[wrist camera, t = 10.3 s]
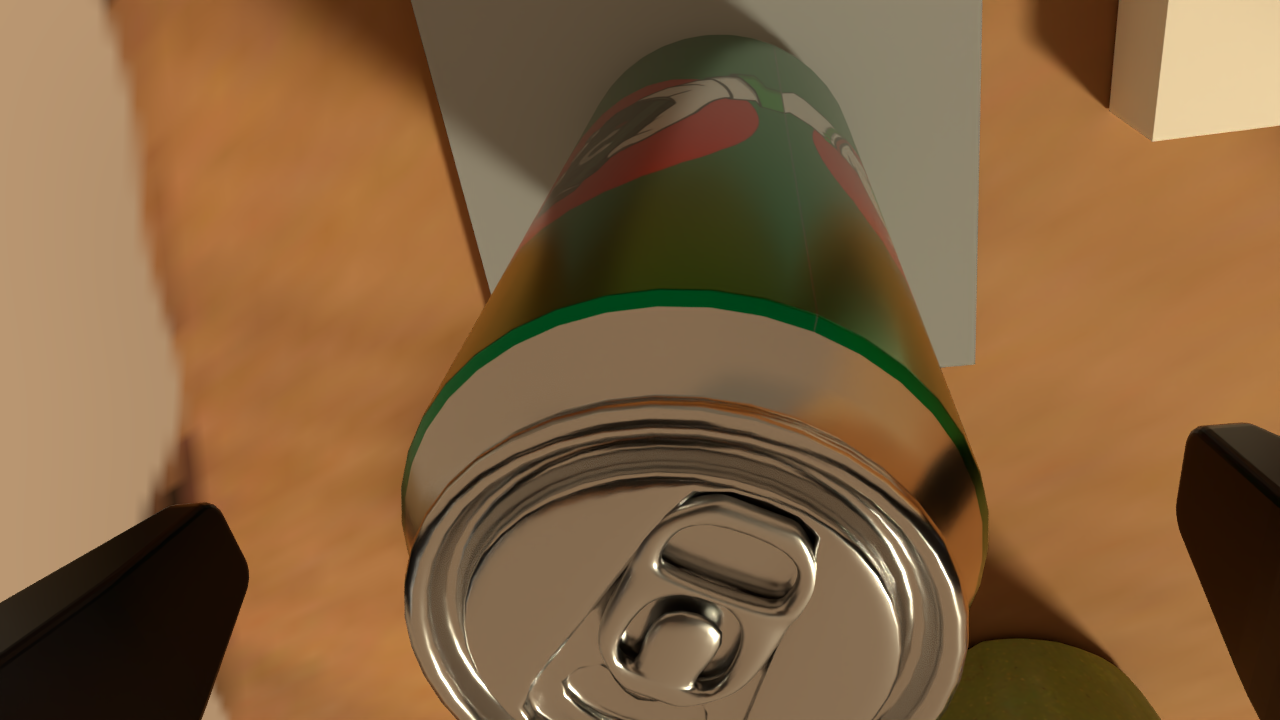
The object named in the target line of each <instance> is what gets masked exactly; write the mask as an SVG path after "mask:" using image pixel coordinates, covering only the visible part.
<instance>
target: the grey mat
mask: <svg viewBox="0 0 1280 720" xmlns="http://www.w3.org/2000/svg"><path fill="white" fill-rule="evenodd" d="M411 3H412V7H413V10H414V14H415V18H416V21H417V25H418V29H419V32H420V36H421V40H422V43H423V47H424V51H425V54H426V58H427V62H428V65H429V69H430V73H431V76H432V80H433V83H434V87H435V91H436V94H437V98H438V102H439V105H440V109H441V113H442V116H443V120H444V124H445V127H446V131H447V135H448V138H449V142H450V146H451V149H452V153H453V157H454V160H455V164H456V168H457V171H458V175H459V179H460V182H461V186H462V190H463V193H464V197H465V201H466V204H467V208H468V212H469V215H470V219H471V223H472V226H473V230H474V234H475V237H476V241H477V245H478V248H479V252H480V256H481V259H482V263H483V267H484V270H485V274H486V278H487V281H488V285H489V289H490V292H491V295H492V293H493V291H494V289H495V288H496V286H497V284H498V282H499V280H500V279H501V277H502V275H503V273H504V272H505V270H506V268H507V266H508V264H509V263H510V261H511V259H512V257H513V256H514V254H515V252H516V250H517V249H518V247H519V245H520V243H521V241H522V240H523V238H524V236H525V234H526V233H527V231H528V229H529V227H530V226H531V224H532V222H533V220H534V218H535V217H536V215H537V213H538V211H539V210H540V208H541V206H542V204H543V202H544V201H545V199H546V197H547V195H548V194H549V192H550V190H551V188H552V187H553V185H554V183H555V181H556V179H557V178H558V176H559V174H560V172H561V171H562V169H563V167H564V165H565V163H566V162H567V160H568V158H569V156H570V155H571V153H572V151H573V149H574V148H575V146H576V144H577V142H578V140H579V139H580V137H581V135H582V133H583V132H584V130H585V128H586V126H587V125H588V123H589V121H590V119H591V117H592V116H593V114H594V112H595V110H596V109H597V107H598V105H599V104H600V102H601V100H602V99H603V97H604V96H605V94H606V93H607V91H608V90H609V88H610V87H611V86H612V85H613V84H614V83H615V82H616V80H617V79H618V78H619V77H620V76H621V75H622V74H623V73H624V72H625V71H626V70H627V69H628V68H630V67H631V66H632V65H634V64H635V63H636V62H637V61H639V60H640V59H641V58H643V57H644V56H646V55H648V54H650V53H652V52H653V51H655V50H657V49H659V48H661V47H663V46H665V45H668V44H671V43H674V42H677V41H680V40H683V39H687V38H692V37H698V36H704V35H735V36H741V37H748V38H753V39H756V40H759V41H762V42H765V43H768V44H771V45H774V46H776V47H778V48H780V49H782V50H784V51H786V52H787V53H789V54H791V55H793V56H795V57H796V58H797V59H799V60H800V61H801V62H803V63H804V64H805V65H806V66H808V67H809V68H810V69H812V70H813V71H814V72H815V74H816V75H817V76H818V77H819V78H820V79H821V80H822V81H823V82H824V83H825V84H826V85H827V87H828V88H829V90H830V91H831V93H832V94H833V96H834V98H835V99H836V101H837V102H838V104H839V106H840V108H841V110H842V113H843V115H844V117H845V120H846V122H847V124H848V127H849V129H850V132H851V135H852V137H853V140H854V143H855V145H856V148H857V150H858V153H859V156H860V158H861V161H862V163H863V166H864V169H865V171H866V174H867V177H868V179H869V182H870V184H871V187H872V190H873V192H874V195H875V198H876V200H877V203H878V205H879V208H880V211H881V213H882V216H883V218H884V221H885V224H886V226H887V229H888V232H889V234H890V237H891V239H892V242H893V245H894V247H895V250H896V253H897V255H898V258H899V260H900V263H901V266H902V268H903V271H904V273H905V276H906V279H907V281H908V284H909V287H910V289H911V292H912V294H913V297H914V300H915V302H916V305H917V307H918V310H919V313H920V315H921V318H922V321H923V323H924V326H925V328H926V331H927V334H928V336H929V339H930V342H931V344H932V347H933V349H934V352H935V355H936V357H937V360H938V362H939V365H940V367H951V366H962V365H973V364H975V344H976V294H977V244H978V193H979V143H980V93H981V43H982V0H411Z"/></svg>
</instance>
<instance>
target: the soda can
mask: <svg viewBox="0 0 1280 720" xmlns="http://www.w3.org/2000/svg"><path fill="white" fill-rule="evenodd" d="M401 501H402V526H403V531H404V535H405V540H406V545H407V550H408V554H409V559H408V564H407V569H406V573H405V620H406V624H407V629H408V633H409V638H410V642H411V647H412V649H413V651H414V654H415V656H416V658H417V661H418V663H419V665H420V667H421V670H422V672H423V674H424V676H425V678H426V679H427V681H428V682H429V684H430V685H431V687H432V689H433V690H434V692H435V693H436V695H437V696H438V698H439V699H440V701H441V702H442V703H443V705H444V706H445V707H446V708H447V709H448V710H449V711H450V712H451V713H452V715H453V716H454V717H455V718H456V719H457V720H939V719H940V718H941V717H942V715H943V714H944V713H945V711H946V710H947V708H948V706H949V704H950V702H951V700H952V698H953V696H954V694H955V691H956V689H957V687H958V685H959V683H960V681H961V677H962V672H963V668H964V663H965V659H966V655H967V650H968V642H969V608H970V606H971V604H972V602H973V600H974V597H975V595H976V593H977V591H978V588H979V586H980V583H981V579H982V574H983V570H984V565H985V561H986V556H987V552H988V512H989V511H988V506H987V502H986V497H985V492H984V487H983V483H982V478H981V473H980V470H979V467H978V465H977V462H976V459H975V457H974V454H973V452H972V449H971V446H970V444H969V441H968V438H967V436H966V433H965V431H964V428H963V425H962V423H961V420H960V417H959V415H958V412H957V410H956V407H955V404H954V402H953V399H952V397H951V394H950V391H949V389H948V386H947V383H946V381H945V378H944V376H943V373H942V370H941V368H940V365H939V362H938V360H937V357H936V355H935V352H934V349H933V347H932V344H931V342H930V339H929V336H928V334H927V331H926V328H925V326H924V323H923V321H922V318H921V315H920V313H919V310H918V307H917V305H916V302H915V300H914V297H913V294H912V292H911V289H910V287H909V284H908V281H907V279H906V276H905V273H904V271H903V268H902V266H901V263H900V260H899V258H898V255H897V253H896V250H895V247H894V245H893V242H892V239H891V237H890V234H889V232H888V229H887V226H886V224H885V221H884V218H883V216H882V213H881V211H880V208H879V205H878V203H877V200H876V198H875V195H874V192H873V190H872V187H871V184H870V182H869V179H868V177H867V174H866V171H865V169H864V166H863V163H862V161H861V158H860V156H859V153H858V150H857V148H856V145H855V143H854V140H853V137H852V135H851V132H850V129H849V127H848V124H847V122H846V120H845V117H844V115H843V113H842V110H841V108H840V106H839V104H838V102H837V101H836V99H835V98H834V96H833V94H832V93H831V91H830V90H829V88H828V87H827V85H826V84H825V83H824V82H823V81H822V80H821V79H820V78H819V77H818V76H817V75H816V74H815V72H814V71H813V70H812V69H810V68H809V67H808V66H806V65H805V64H804V63H803V62H801V61H800V60H799V59H797V58H796V57H795V56H793V55H791V54H789V53H787V52H786V51H784V50H782V49H780V48H778V47H776V46H774V45H771V44H768V43H765V42H762V41H759V40H756V39H753V38H748V37H741V36H735V35H704V36H698V37H692V38H687V39H683V40H680V41H677V42H674V43H671V44H668V45H665V46H663V47H661V48H659V49H657V50H655V51H653V52H652V53H650V54H648V55H646V56H644V57H643V58H641V59H640V60H639V61H637V62H636V63H635V64H634V65H632V66H631V67H630V68H628V69H627V70H626V71H625V72H624V73H623V74H622V75H621V76H620V77H619V78H618V79H617V80H616V82H615V83H614V84H613V85H612V86H611V87H610V88H609V90H608V91H607V93H606V94H605V96H604V97H603V99H602V100H601V102H600V104H599V105H598V107H597V109H596V110H595V112H594V114H593V116H592V117H591V119H590V121H589V123H588V125H587V126H586V128H585V130H584V132H583V133H582V135H581V137H580V139H579V140H578V142H577V144H576V146H575V148H574V149H573V151H572V153H571V155H570V156H569V158H568V160H567V162H566V163H565V165H564V167H563V169H562V171H561V172H560V174H559V176H558V178H557V179H556V181H555V183H554V185H553V187H552V188H551V190H550V192H549V194H548V195H547V197H546V199H545V201H544V202H543V204H542V206H541V208H540V210H539V211H538V213H537V215H536V217H535V218H534V220H533V222H532V224H531V226H530V227H529V229H528V231H527V233H526V234H525V236H524V238H523V240H522V241H521V243H520V245H519V247H518V249H517V250H516V252H515V254H514V256H513V257H512V259H511V261H510V263H509V264H508V266H507V268H506V270H505V272H504V273H503V275H502V277H501V279H500V280H499V282H498V284H497V286H496V288H495V289H494V291H493V293H492V295H491V296H490V298H489V300H488V302H487V303H486V305H485V307H484V309H483V311H482V312H481V314H480V316H479V318H478V319H477V321H476V323H475V325H474V327H473V328H472V330H471V332H470V334H469V335H468V337H467V339H466V341H465V342H464V344H463V346H462V348H461V350H460V351H459V353H458V355H457V357H456V358H455V360H454V362H453V364H452V365H451V367H450V369H449V371H448V373H447V374H446V376H445V378H444V380H443V381H442V383H441V385H440V387H439V389H438V390H437V392H436V394H435V396H434V397H433V399H432V401H431V403H430V404H429V406H428V408H427V410H426V412H425V413H424V415H423V417H422V420H421V422H420V424H419V427H418V429H417V431H416V434H415V436H414V439H413V441H412V443H411V446H410V448H409V451H408V455H407V460H406V465H405V470H404V475H403V481H402V486H401Z"/></svg>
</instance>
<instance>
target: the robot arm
mask: <svg viewBox="0 0 1280 720" xmlns="http://www.w3.org/2000/svg"><path fill="white" fill-rule="evenodd" d="M1176 515H1177V522H1178V526H1179V530H1180V533H1181V536H1182V538H1183V541H1184V543H1185V545H1186V548H1187V550H1188V553H1189V555H1190V558H1191V560H1192V563H1193V565H1194V568H1195V570H1196V572H1197V575H1198V577H1199V580H1200V582H1201V585H1202V587H1203V590H1204V592H1205V595H1206V597H1207V600H1208V602H1209V604H1210V607H1211V609H1212V612H1213V614H1214V617H1215V619H1216V622H1217V624H1218V627H1219V629H1220V631H1221V634H1222V636H1223V639H1224V641H1225V644H1226V646H1227V649H1228V651H1229V654H1230V656H1231V658H1232V661H1233V663H1234V666H1235V668H1236V671H1237V673H1238V675H1239V677H1240V680H1241V682H1242V684H1243V686H1244V689H1245V691H1246V693H1247V695H1248V697H1249V699H1250V701H1251V703H1252V705H1253V707H1254V709H1255V711H1256V713H1257V715H1258V717H1259V719H1260V720H1280V436H1278V435H1276V434H1273V433H1271V432H1269V431H1267V430H1264V429H1262V428H1260V427H1258V426H1255V425H1253V424H1249V423H1231V424H1219V425H1206V426H1199V427H1197V428H1196V429H1194V430H1193V431H1191V433H1190V435H1189V436H1188V439H1187V442H1186V446H1185V452H1184V459H1183V465H1182V471H1181V477H1180V484H1179V490H1178V496H1177V503H1176ZM248 582H249V570H248V565H247V562H246V559H245V557H244V555H243V553H242V551H241V550H240V548H239V546H238V544H237V542H236V540H235V538H234V536H233V534H232V532H231V530H230V528H229V526H228V524H227V522H226V520H225V518H224V516H223V514H222V512H221V511H220V510H219V509H218V508H217V507H216V506H215V505H213V504H210V503H206V502H203V503H190V504H178V505H173V506H169V507H167V508H165V509H163V510H161V511H160V512H158V513H156V514H154V515H153V516H151V517H149V518H147V519H146V520H144V521H142V522H140V523H139V524H137V525H135V526H133V527H132V528H130V529H128V530H126V531H125V532H123V533H121V534H120V535H118V536H116V537H114V538H112V539H111V540H109V541H107V542H106V543H104V544H102V545H100V546H98V547H97V548H95V549H93V550H91V551H90V552H88V553H86V554H85V555H83V556H81V557H79V558H78V559H76V560H74V561H72V562H71V563H69V564H67V565H66V566H64V567H62V568H60V569H58V570H57V571H55V572H53V573H51V574H50V575H48V576H46V577H44V578H43V579H41V580H39V581H37V582H36V583H34V584H32V585H30V586H29V587H27V588H25V589H24V590H22V591H20V592H18V593H17V594H15V595H13V596H12V597H9V598H8V599H6V600H4V601H2V602H1V603H0V720H201V719H202V717H203V714H204V711H205V708H206V706H207V703H208V700H209V697H210V695H211V692H212V689H213V686H214V683H215V680H216V677H217V674H218V672H219V669H220V666H221V663H222V660H223V657H224V654H225V651H226V649H227V646H228V643H229V640H230V637H231V634H232V631H233V628H234V626H235V623H236V620H237V617H238V614H239V611H240V608H241V605H242V602H243V600H244V597H245V594H246V591H247V587H248Z"/></svg>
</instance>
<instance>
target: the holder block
mask: <svg viewBox="0 0 1280 720" xmlns="http://www.w3.org/2000/svg"><path fill="white" fill-rule="evenodd" d="M1109 111H1110V112H1111V113H1113V114H1114V115H1116V116H1117V117H1118V118H1120V119H1121V120H1123V121H1124V122H1126V123H1127V124H1128V125H1130V126H1131V127H1133V128H1134V129H1135V130H1137V131H1138V132H1140V133H1141V134H1142V135H1144V136H1145V137H1147V138H1148V139H1150V140H1151V141H1160V140H1168V139H1176V138H1184V137H1192V136H1200V135H1208V134H1216V133H1224V132H1232V131H1240V130H1248V129H1256V128H1264V127H1272V126H1280V0H1119V6H1118V17H1117V28H1116V39H1115V50H1114V61H1113V73H1112V84H1111V95H1110V106H1109Z"/></svg>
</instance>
